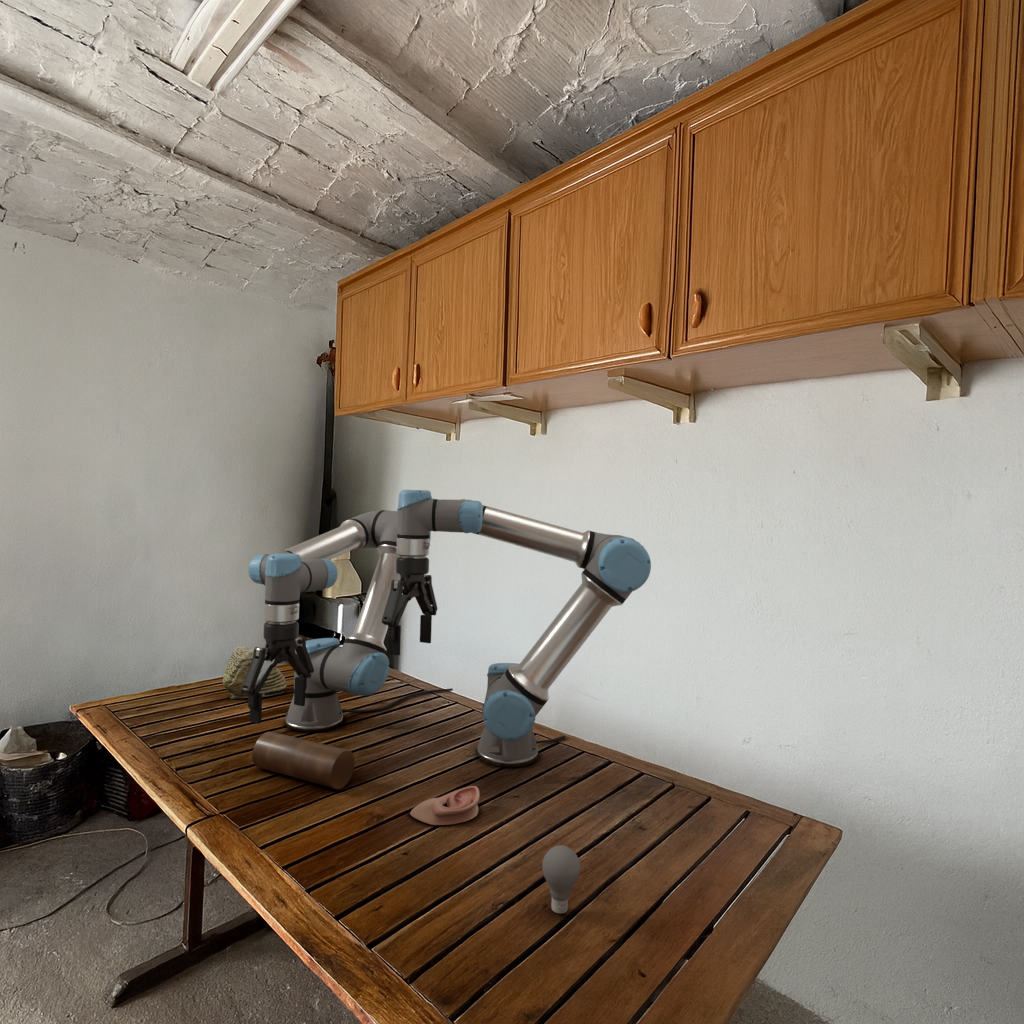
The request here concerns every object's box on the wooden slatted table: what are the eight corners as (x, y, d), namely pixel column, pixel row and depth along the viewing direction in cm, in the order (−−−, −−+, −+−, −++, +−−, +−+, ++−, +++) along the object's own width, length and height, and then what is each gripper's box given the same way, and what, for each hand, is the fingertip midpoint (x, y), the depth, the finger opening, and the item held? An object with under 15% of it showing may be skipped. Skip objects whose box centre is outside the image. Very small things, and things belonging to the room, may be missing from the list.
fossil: (218, 695, 195) (220, 647, 195) (278, 685, 208) (279, 640, 207) (228, 703, 189) (230, 653, 188) (289, 692, 201) (290, 645, 201)
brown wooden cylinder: (251, 773, 143) (252, 737, 143) (277, 760, 151) (279, 726, 151) (330, 795, 134) (331, 757, 134) (354, 780, 142) (355, 745, 142)
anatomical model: (405, 801, 125) (424, 776, 136) (404, 821, 125) (423, 795, 136) (470, 810, 122) (484, 785, 133) (469, 831, 122) (483, 803, 133)
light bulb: (538, 899, 102) (540, 837, 102) (574, 898, 103) (577, 837, 103) (542, 923, 96) (545, 859, 96) (581, 923, 97) (584, 858, 97)
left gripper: (251, 633, 132) (247, 733, 133) (330, 615, 155) (327, 701, 155) (224, 628, 135) (221, 727, 136) (307, 611, 158) (303, 696, 158)
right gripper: (396, 561, 133) (393, 662, 133) (452, 554, 156) (450, 639, 156) (366, 559, 136) (364, 657, 136) (426, 552, 159) (424, 636, 159)
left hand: (278, 713), depth 145 cm, fingers open, 13 cm apart
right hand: (410, 648), depth 146 cm, fingers open, 13 cm apart
